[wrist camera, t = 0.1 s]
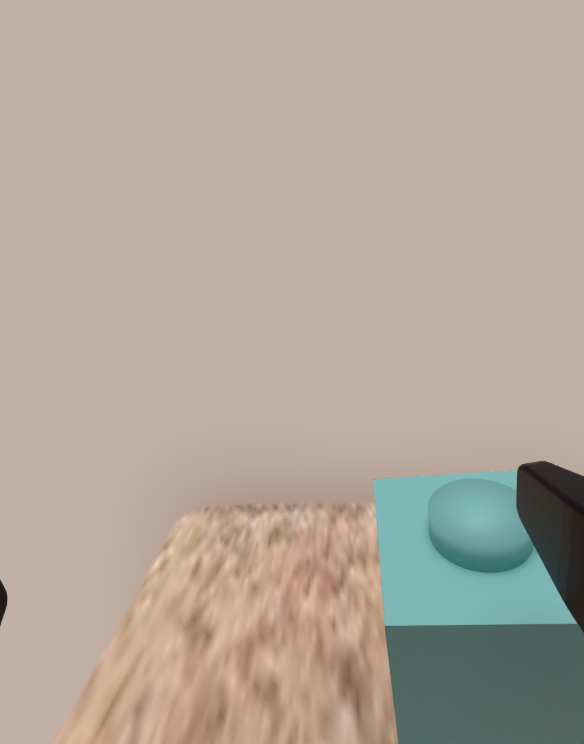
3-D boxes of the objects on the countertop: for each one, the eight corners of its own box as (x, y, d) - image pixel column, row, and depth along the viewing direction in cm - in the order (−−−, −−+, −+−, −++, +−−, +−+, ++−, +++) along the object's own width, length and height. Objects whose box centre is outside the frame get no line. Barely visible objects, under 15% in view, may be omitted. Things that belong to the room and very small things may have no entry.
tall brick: (589, 924, 14) (654, 592, 9) (418, 910, 15) (381, 598, 10) (530, 738, 19) (549, 444, 13) (402, 735, 19) (370, 457, 14)
